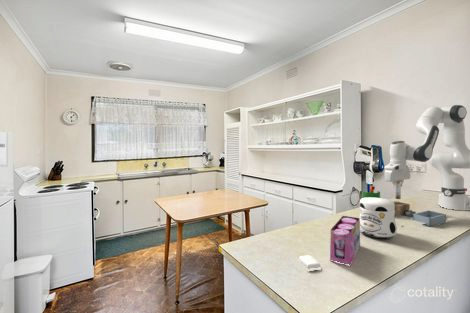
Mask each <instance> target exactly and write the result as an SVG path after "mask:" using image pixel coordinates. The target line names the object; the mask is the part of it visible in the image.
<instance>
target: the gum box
mask: <svg viewBox="0 0 470 313" xmlns="http://www.w3.org/2000/svg"><path fill="white" fill-rule="evenodd" d="M329 240H330V241H329V242H330V248H329V249H330V252H329V261H330V260H333V261H337V262H340V263H344V264H349V265H350V264H351V265H352V263H353V261H354V259H355V257H356V255H357V254H356V253H358V251H359V250H360V247H361V231H360V218H359V217H354V216H347V215H342V216H341V217H340V218H339V220H338V221H337V222H336V223H335V224H334V225H333V226H332V227H331V229H330V238H329ZM358 249H359V250H358ZM354 256H355V257H354ZM353 258H354V259H353ZM352 260H353V261H352ZM351 262H352V263H351ZM351 265H350V266H351Z"/></svg>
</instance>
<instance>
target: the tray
mask: <svg viewBox="0 0 470 313" xmlns="http://www.w3.org/2000/svg"><path fill="white" fill-rule="evenodd" d="M412 221H416V222H419V223H421V225H422V226H426V227H428V228H432V227H436V226H438V225H440V226H441V225H443V224H446V223H447V214H445V213H442V212H441V213H440V212H437V211H433V210H425V211H421V212H416V213H415V214H413V218H412Z"/></svg>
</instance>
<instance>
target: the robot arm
mask: <svg viewBox="0 0 470 313" xmlns="http://www.w3.org/2000/svg"><path fill="white" fill-rule="evenodd" d="M467 113H468V112H467V108H466V107H465V106H464V105H461V104H454V105H445V106H441V107H438V106H430V107H428V108H426V110H425V111H424V112H422V114H421V115H420V116H419V118H418V119H417V121H416V123H415V129H416V130H417V131H418V132H419V133H420V134H422V135H423V136H424V135H425V138H424V141H423V143H422V144H420V145H409V144H408V143H406V142H405V140H397V141H396V140H395V141H392V142H391V143H390V146H389V157H390V160H389V163H388V164H386V165H385V166H384V167H383V168H384V181H385V182H389V183H390V182H391V183H392V184H393V188H397V187H398V185H397V183H396V182H397V181H399V180H401V188H402V187H403V184H404V181H406V180H411V170H410V168H409V166H408V164H407V161H411V162H413V161H414V162H421V163H426V162H428V161H429V164H430V165H431V166H432V167H433V168H435V169H436V170H437V172H439V174H440V175H441V181H442V183H441V184H442V185H441V189H440V190H441V193H439V195H438V202H437V203H436V204H439V205H440V206H441V207H440V206H439V205H438V206H439V207H440V208H442V207H444V208H443V209H446V208H447V209H446V210H452V209H454V211H465V210H470V197H469V196H468V195H467V194H466V192H467V190H468V188H466V187H465V178H464V176H463V175H461V174H460V173H458V172H455V171H453V169H470V148H469V147H468V146H467V143H466V136H465V135H466V132H465V131H466V128H465V122H464V120H465V118H466V116H467ZM439 124H443V128H442V144H443V146H446V147H447V148H450V149H453V152H445V151H444V152H442V151H441V152H434V153H433V150H434V147H435V145H436V142H437V140H438V136H439V133H440V128H439V127H438V126H439Z"/></svg>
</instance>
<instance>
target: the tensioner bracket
mask: <svg viewBox="0 0 470 313" xmlns="http://www.w3.org/2000/svg"><path fill="white" fill-rule="evenodd" d="M393 202H394V205H395V209H394V210H395V216H398V217H400V218H401V217H403V218H406V219H413V214H415V213H417V212H416V211H413V209H411V206H410V203H406V202H401V201H397V200H396V201H395V200H394V201H393Z"/></svg>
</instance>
